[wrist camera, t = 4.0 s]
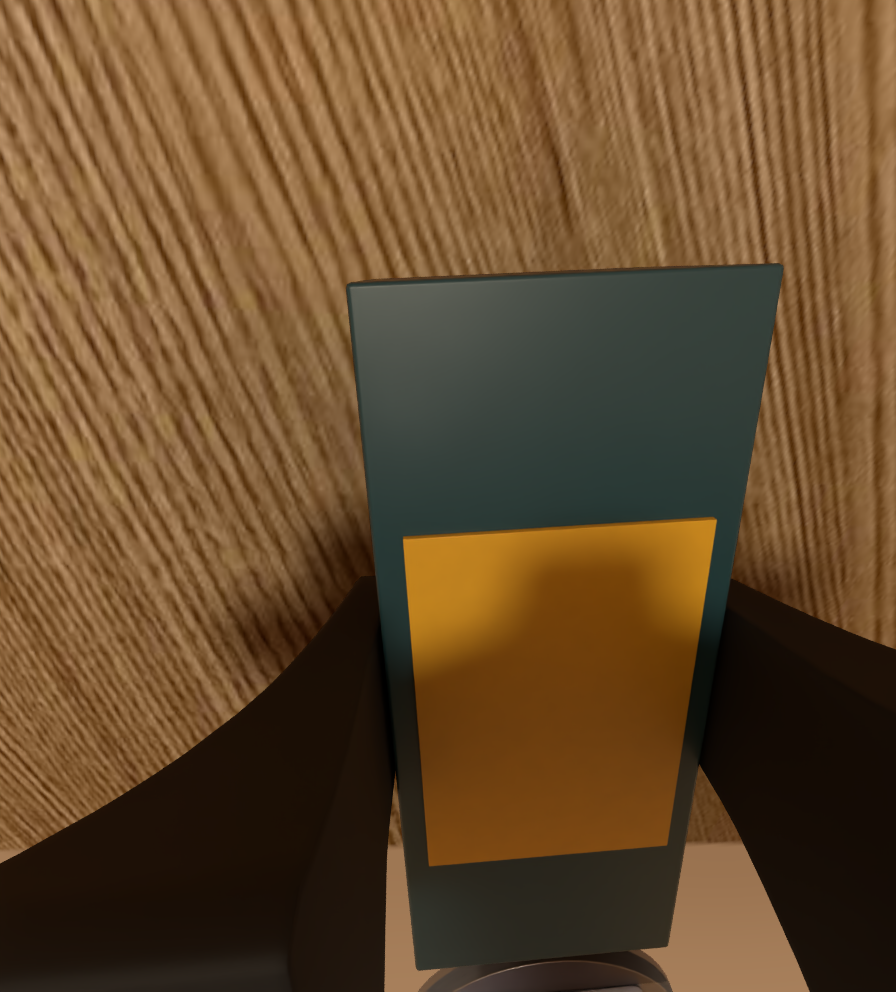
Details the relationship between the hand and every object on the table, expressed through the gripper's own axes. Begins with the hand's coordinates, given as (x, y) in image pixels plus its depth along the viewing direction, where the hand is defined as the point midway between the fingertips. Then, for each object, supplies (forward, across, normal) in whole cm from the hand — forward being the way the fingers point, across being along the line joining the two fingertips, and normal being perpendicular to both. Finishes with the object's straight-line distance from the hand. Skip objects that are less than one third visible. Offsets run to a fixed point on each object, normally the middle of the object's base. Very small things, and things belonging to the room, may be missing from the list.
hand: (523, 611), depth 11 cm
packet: (+1, 0, 0) cm, 1 cm away
